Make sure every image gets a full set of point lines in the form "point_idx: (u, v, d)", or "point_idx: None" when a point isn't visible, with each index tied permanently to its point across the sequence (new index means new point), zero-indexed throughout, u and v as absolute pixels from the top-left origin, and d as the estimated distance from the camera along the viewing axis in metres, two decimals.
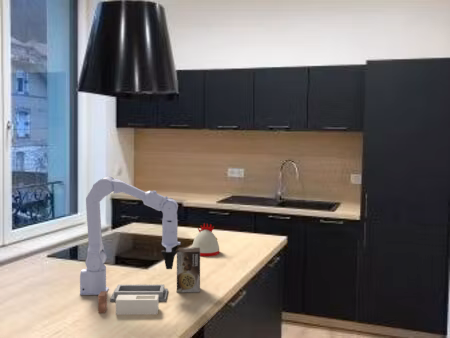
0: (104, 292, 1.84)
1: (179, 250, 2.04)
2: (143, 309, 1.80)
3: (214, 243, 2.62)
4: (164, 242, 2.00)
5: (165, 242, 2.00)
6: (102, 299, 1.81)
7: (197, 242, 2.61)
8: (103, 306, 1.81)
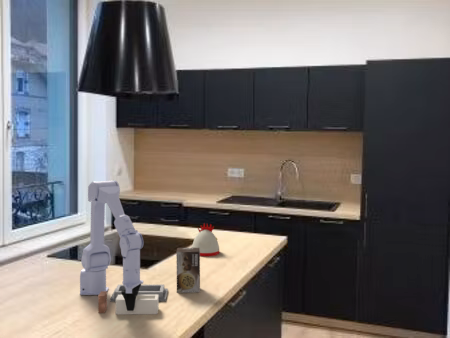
0: (104, 292, 1.84)
1: (179, 250, 2.04)
2: (143, 309, 1.80)
3: (214, 243, 2.62)
4: (125, 281, 1.80)
5: (126, 281, 1.80)
6: (102, 299, 1.81)
7: (197, 242, 2.61)
8: (103, 306, 1.81)
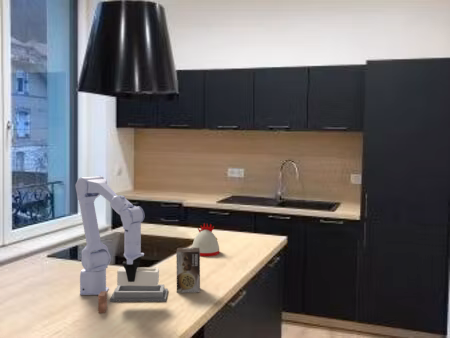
0: (104, 292, 1.84)
1: (179, 250, 2.04)
2: (144, 281, 1.87)
3: (214, 243, 2.62)
4: (126, 253, 1.86)
5: (127, 253, 1.86)
6: (102, 299, 1.81)
7: (197, 242, 2.61)
8: (103, 306, 1.81)
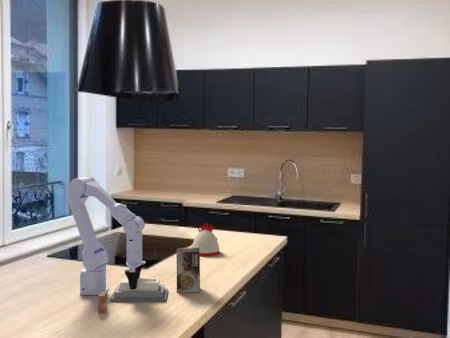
0: (104, 292, 1.84)
1: (179, 250, 2.04)
2: None
3: (214, 243, 2.62)
4: (128, 261, 1.96)
5: (129, 261, 1.95)
6: (102, 299, 1.81)
7: (197, 242, 2.61)
8: (103, 306, 1.81)
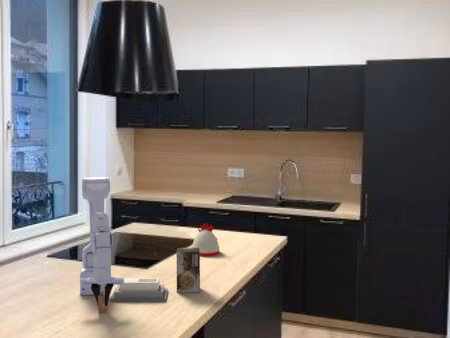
0: (104, 292, 1.84)
1: (179, 250, 2.04)
2: None
3: (214, 243, 2.62)
4: None
5: None
6: (102, 299, 1.81)
7: (197, 242, 2.61)
8: (103, 306, 1.81)
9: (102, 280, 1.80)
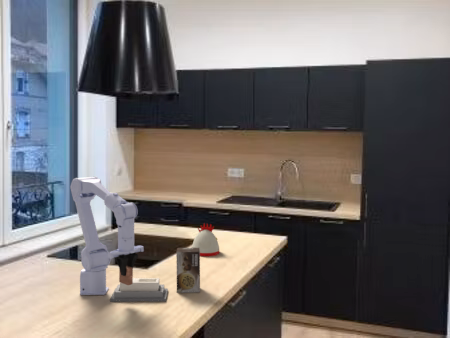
0: None
1: (179, 250, 2.04)
2: None
3: (214, 243, 2.62)
4: (118, 248, 1.89)
5: (118, 248, 1.89)
6: (131, 271, 1.89)
7: (197, 242, 2.61)
8: (131, 277, 1.90)
9: (132, 249, 1.88)
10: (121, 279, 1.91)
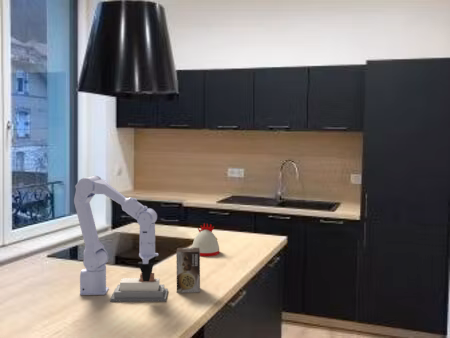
0: None
1: (179, 250, 2.04)
2: None
3: (214, 243, 2.62)
4: (141, 253, 1.96)
5: (142, 253, 1.95)
6: None
7: (197, 242, 2.61)
8: None
9: None
10: None
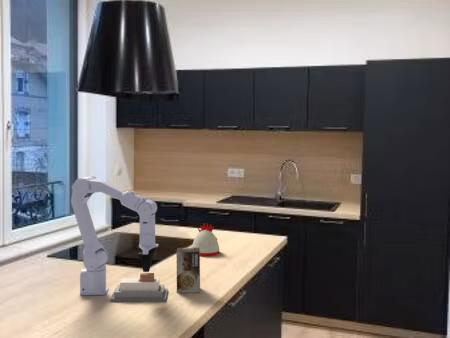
0: (144, 273, 1.99)
1: (179, 250, 2.04)
2: None
3: (214, 243, 2.62)
4: (141, 244, 1.95)
5: (142, 244, 1.95)
6: None
7: (197, 242, 2.61)
8: None
9: None
10: None
